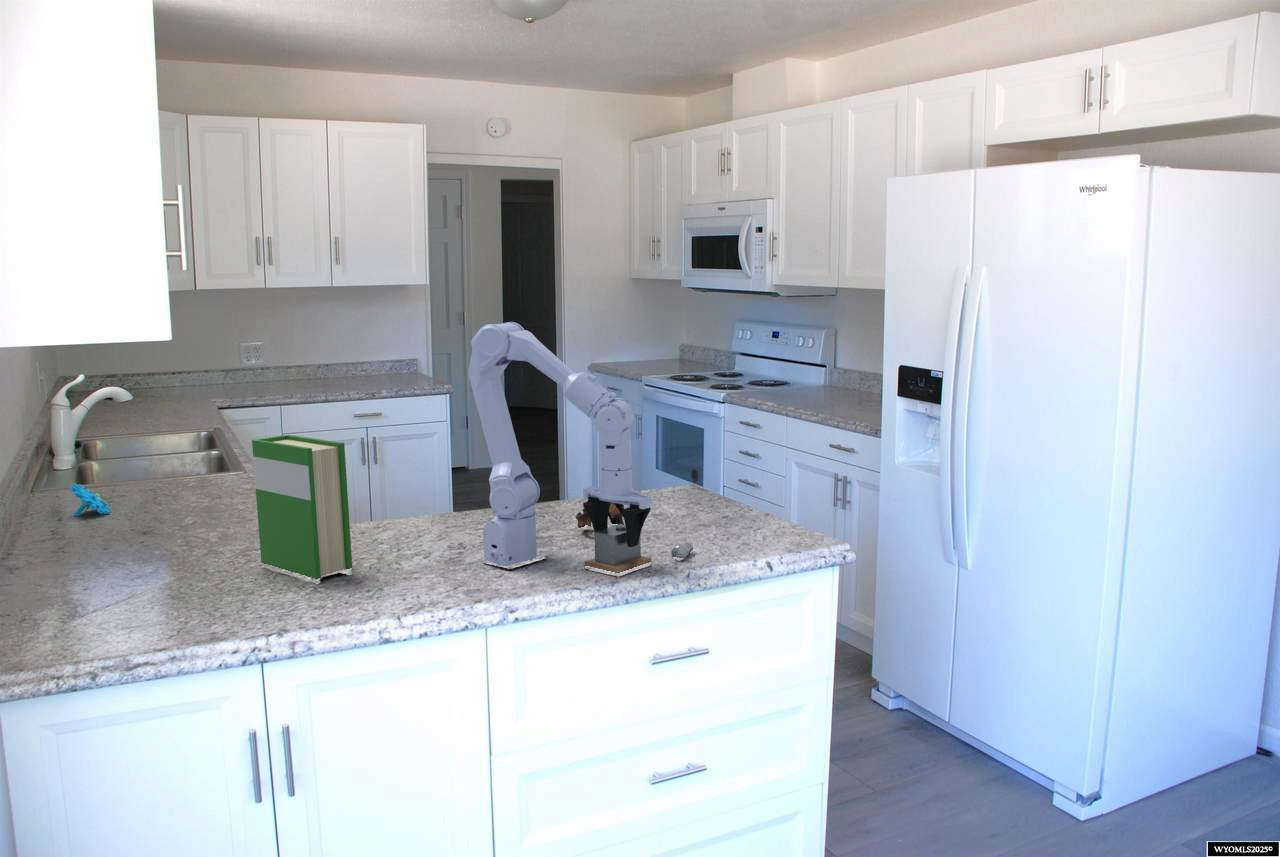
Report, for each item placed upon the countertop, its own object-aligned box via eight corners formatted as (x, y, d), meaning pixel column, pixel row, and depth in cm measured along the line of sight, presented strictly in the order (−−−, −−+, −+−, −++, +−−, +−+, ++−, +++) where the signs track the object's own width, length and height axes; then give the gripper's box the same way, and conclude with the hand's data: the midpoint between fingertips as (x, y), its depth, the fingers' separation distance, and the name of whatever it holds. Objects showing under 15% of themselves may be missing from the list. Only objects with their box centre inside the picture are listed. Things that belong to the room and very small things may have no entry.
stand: (617, 577, 176) (617, 569, 175) (584, 569, 181) (584, 561, 181) (651, 565, 182) (650, 557, 182) (618, 558, 188) (618, 550, 187)
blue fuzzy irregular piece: (104, 511, 228) (68, 482, 226) (85, 531, 227) (49, 502, 226) (119, 507, 239) (85, 479, 237) (101, 526, 238) (67, 498, 236)
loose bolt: (685, 562, 184) (685, 547, 184) (671, 560, 185) (671, 546, 185) (695, 553, 190) (695, 539, 189) (681, 552, 191) (681, 538, 190)
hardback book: (352, 574, 181) (344, 442, 177) (316, 584, 175) (307, 448, 171) (297, 559, 192) (288, 434, 188) (261, 568, 186) (251, 440, 182)
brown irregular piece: (617, 543, 200) (595, 509, 199) (584, 557, 206) (562, 524, 205) (644, 516, 210) (623, 482, 209) (612, 530, 215) (591, 498, 215)
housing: (614, 566, 177) (614, 534, 176) (595, 561, 180) (594, 530, 179) (640, 557, 182) (640, 526, 182) (621, 553, 186) (620, 522, 185)
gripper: (661, 469, 177) (662, 544, 179) (601, 460, 187) (602, 531, 189) (635, 475, 172) (636, 552, 174) (574, 466, 181) (576, 539, 183)
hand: (617, 542), depth 181 cm, fingers open, 7 cm apart
